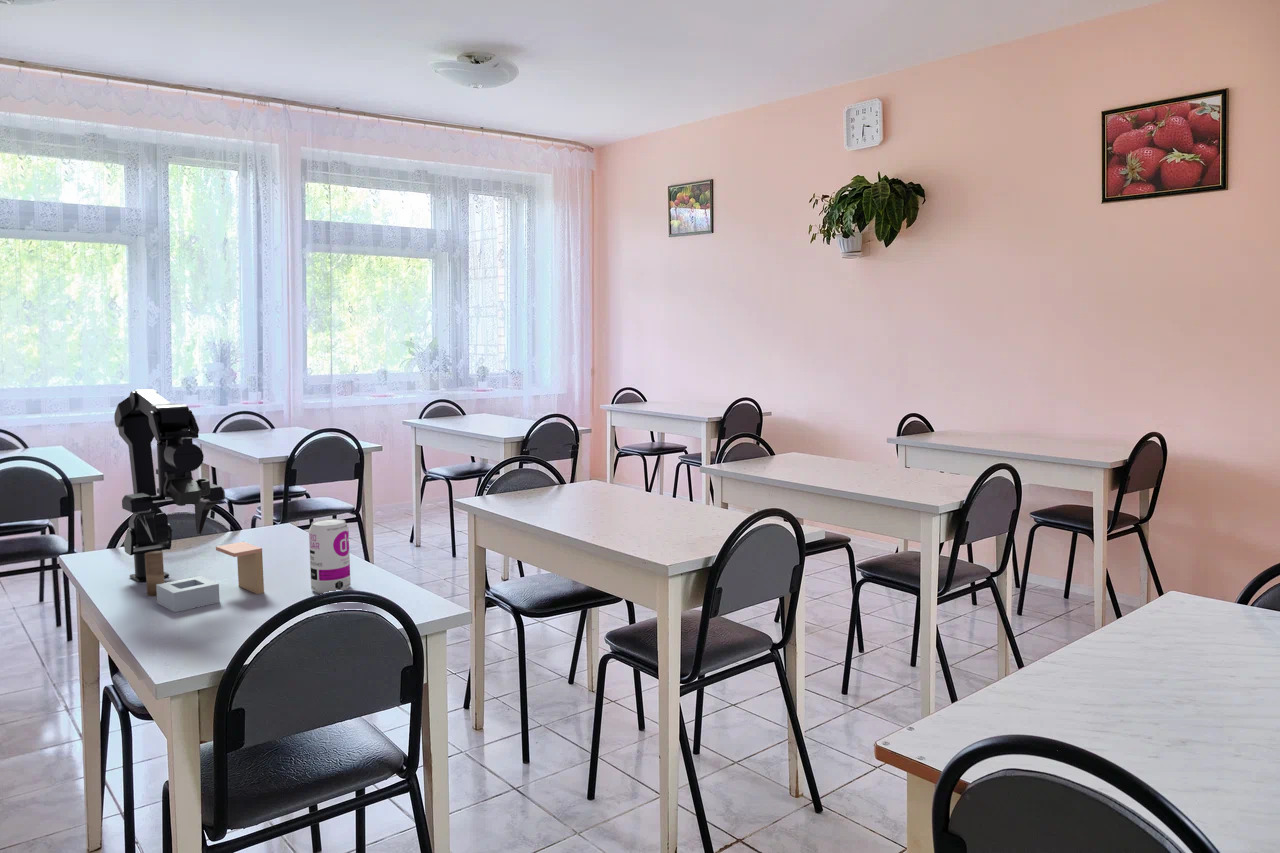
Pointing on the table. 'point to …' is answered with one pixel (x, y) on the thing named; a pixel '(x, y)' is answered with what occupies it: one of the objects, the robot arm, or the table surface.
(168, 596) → the grey and wooden blocks
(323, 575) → the supplement can
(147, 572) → the peg
